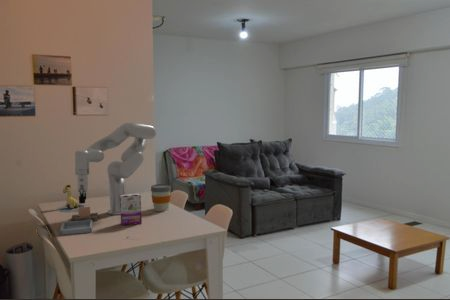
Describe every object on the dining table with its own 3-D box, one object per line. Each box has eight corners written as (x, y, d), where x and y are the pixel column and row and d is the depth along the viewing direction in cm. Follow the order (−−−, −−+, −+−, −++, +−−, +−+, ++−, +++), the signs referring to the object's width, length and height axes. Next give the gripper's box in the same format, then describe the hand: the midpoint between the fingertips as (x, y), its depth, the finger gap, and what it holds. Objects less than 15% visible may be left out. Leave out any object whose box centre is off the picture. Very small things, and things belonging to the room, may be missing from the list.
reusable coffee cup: (173, 206, 245) (173, 184, 244) (168, 212, 233) (168, 188, 231) (154, 206, 247) (154, 183, 245) (148, 211, 234) (148, 187, 233)
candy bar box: (141, 221, 214) (140, 192, 213) (141, 223, 210) (140, 194, 208) (120, 222, 211) (119, 194, 210) (120, 225, 207) (119, 196, 205)
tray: (92, 224, 210) (92, 219, 209) (91, 232, 195) (91, 227, 195) (63, 226, 205) (63, 222, 205) (60, 235, 191) (59, 230, 191)
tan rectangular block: (90, 218, 221) (89, 206, 220) (90, 219, 218) (89, 208, 217) (79, 219, 219) (78, 207, 218) (79, 220, 216) (78, 208, 215)
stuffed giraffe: (69, 204, 254) (67, 181, 251) (91, 207, 248) (90, 183, 245) (50, 211, 239) (49, 186, 236) (74, 214, 233) (72, 189, 230)
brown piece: (97, 216, 225) (97, 212, 225) (97, 220, 216) (97, 216, 215) (72, 218, 221) (72, 214, 221) (71, 223, 211) (70, 218, 211)
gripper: (88, 173, 208) (89, 204, 209) (89, 169, 224) (90, 198, 226) (73, 174, 206) (74, 205, 207) (76, 169, 222) (76, 198, 224)
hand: (82, 201), depth 216 cm, fingers open, 9 cm apart
